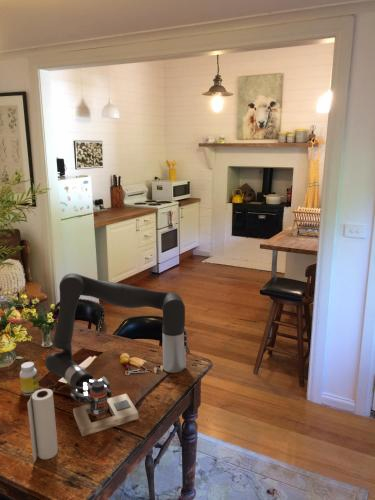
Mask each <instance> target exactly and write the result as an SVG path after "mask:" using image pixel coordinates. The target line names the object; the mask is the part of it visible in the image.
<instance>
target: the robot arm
mask: <svg viewBox="0 0 375 500" xmlns="http://www.w3.org/2000/svg"><path fill="white" fill-rule="evenodd" d="M59 282H60V283H59V288H58V289H59V309H58V315H57V318H56V319H57V320H56V324H55V329H54V330H55V331H54V335H53V340H52V341H53V343H52V344H53V347H54V348H56V349H59V350H61V351H62V352H60V351H59V352H54V353H52V352H51V353H50V354H48V355H47V356H46V357H45V360H44V363H45V364H44V365H45V367H46V369H47V370H48V371H49V372H50V373H52V374H54V375H56V376H59V377H61V378H63V379H64V380H65V382H66V383H67V384H68V385H69V386H70V387H71V388H72V389H70V398H72V399H73V400H75V401H77V402H78V403H79V404H80V403H83V402H86V403H88V404H90V405H91V404H92V405H95V400H94V399H93V398H92V397H91V396H90V390H91V388H92V384H93V383H94V382H95V381H102V382H104V387H106V389H107V398H112V390H111V383H110V381H109V380H108V379H107V378H106V377H105V376H101V377H100V379H96V378H94V377H93V375H92V374H91V373H90V372H89V371H87V370H86V369H85V368H83V367H82V366H80V365H79V364H77V363H76V362H75V361H74V358H73V349H72V340H73V336H74V329H75V319H76V318H75V317H76V311H77V307H78V303H79V300H80V299H81V296H83V297H84V296H85V297H90V298H91V297H92V298H96V299H98V300H99V301H100V300H101V301H103V302H104V303H107V304H109V305H112V306H114V307H115V306H116V307H121V308H127V309H136V308H137V309H138V308H154V309H157V310H160V311H162V327H161V329H162V330H161V331H162V369H163V371H165V372H167V373H170V374H172V373H173V374H175V373H180V372H182V371H183V370H184V369H186V368H187V351H186V350H187V349H186V347H185V327H186V306H185V304H184V301H183V298H182V297H181V296H180V295H179V294H177V293H174V292H169V291H168V292H167V291H166V292H165V291H157V290H152V289H151V290H150V289H146V288H142V287H138V286H133V285H129V284H126V283H125V284H124V283H121V282H120V283H119V282H113V281H108V280H99V279H94V278H91V277H87V276H84V275H81V274H78V273H73V272H71V273H68V274H65V275H64V276H63V277H62V278H61V280H60V281H59Z"/></svg>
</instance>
